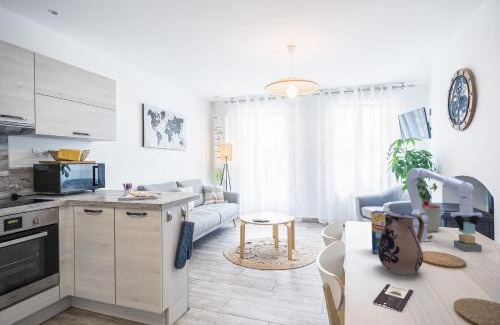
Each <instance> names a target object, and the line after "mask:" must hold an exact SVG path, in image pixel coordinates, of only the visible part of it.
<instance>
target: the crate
mask: <svg viewBox="0 0 500 325" xmlns="http://www.w3.org/2000/svg"><path fill="white" fill-rule="evenodd" d="M453 247H454V248H456V249H457V250H460V251H462V252H464V253H465V252H468V253H469V252H470V253H471V252H473V253H475V252H479V253H481V252H483V250H482V244H480V243H477V242H475V245H467V244H462V243H460V242H459V239H454V240H453Z"/></svg>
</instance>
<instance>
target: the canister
mask: <svg viewBox="0 0 500 325" xmlns="http://www.w3.org/2000/svg"><path fill="white" fill-rule="evenodd" d="M421 204H422V208H423V210H424V211H425V213H426V215H427V216H428V218H429V221H428V222H427V233H434V232H437V231H439V229H440V221H441V212H442V209H443V207H442V206H440V205H439V204H435V203H430V201H429V200H428V199H424V200H422V202H421ZM410 207H411V208H412V205H410ZM411 210H412V211H413V209H411Z"/></svg>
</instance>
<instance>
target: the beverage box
mask: <svg viewBox="0 0 500 325" xmlns="http://www.w3.org/2000/svg"><path fill="white" fill-rule="evenodd" d="M386 213H398V212H397V211H396V212H395V211H385V210H374V211H371V213H370V216H371V217H370V218H371V220H370V221H371V222H370V223H371V252H372V255H378V245H379V240H380V237H381V233H382V230H383V228H384V226H385V223H386V221H385V216H386V215H385V214H386Z"/></svg>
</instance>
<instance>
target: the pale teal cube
mask: <svg viewBox="0 0 500 325" xmlns="http://www.w3.org/2000/svg"><path fill="white" fill-rule="evenodd" d="M458 232H460V233H461V234H470V235H472V234H473V235H474V234H475V235H476V226H475V224H472V223H470V221H469V222H467V221H465V222H463V230H460V229H459V228H458Z"/></svg>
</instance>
